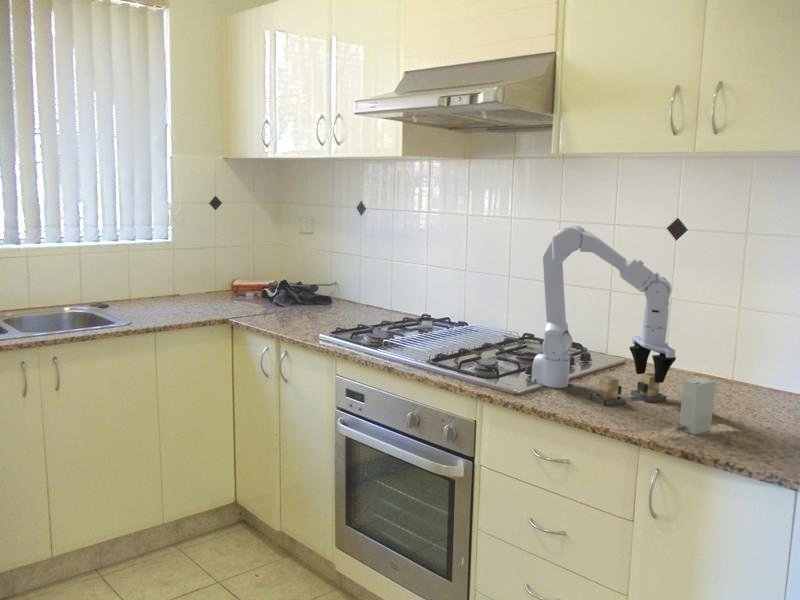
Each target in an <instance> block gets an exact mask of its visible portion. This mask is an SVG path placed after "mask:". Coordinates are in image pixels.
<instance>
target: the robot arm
mask: <svg viewBox="0 0 800 600" xmlns="http://www.w3.org/2000/svg"><path fill="white" fill-rule="evenodd" d="M578 250H579V253H581V252H582V253H593V254H594V255H596V256H598V257H599V258H600V259H601V260H603V261H605V262H607V263H608V264H609V265H611V266H612V267H614V268H615V269H617V270H618V271H619V277H620V278H621V279H622V280H623V281H625V282H626V283H628V284H629V285H630V286H632V287H633V288H635V289H636V290H637V291H639V292H640V293H643V294H644V296H645V298H646V299H645V300H646V301H645V306H644V312H643V313H644V314H643V321H642V330H641V331H642V332H641V336H640V335H639V336H638V335H637V336H632V339H631V344H632V345H633V346H629V351H630V353H631V356H632V359H633V362H634V367H635V374H637V375H642V374H646V370H647V364H648V360H649V356H650V355H651V352H652V351H653V352H654V353H657V354H653V355H651V357H652V361H653V365H654V374H655V382H656V383H660V384H662V383H664V381H665V378H666V377H667V374H668V372H669V370H670V368H671V366H672V365H673V364H674V362H675V361H676V359H677V357H676V349H674V348H672V347H671V346H670V345H669V343H668V342H666V340H667V331H668V329H667V328H668V321H669V306H670V301H669V300H670V296H671V293H672V284H671V283H670V281H668V280H667V278H666V277H664V276H661V275H660V273H659V272H656V273H655V272H654V271H652V270H651V269H650V268H648V267H646V266H645V265H644V264H645V262H644V261H642V259H639V260H637V259H635V258H632V259H627V258H625V257H624V256H623V255H621V254H620V253H619V252H617V251H616V250H615V249H614V248H612V247H611V246H610V245H608V243H606V242H604V240H602V239H600V237H598V236H596V235H595V234H594V233H592V232H590V231H588V230H585V229H584V228H583V227H582V226H580V225H570V226H568V227H563V228H561V229H560V230H559V231H558V232H557V233H556V234H554V235H553V236H552V239H551V241H550V242H549V244H548V246H547V248H546V250H545V252H544V254H543V256H542V264H543V283H544V296H545V298H544V299H545V315H546V323H545V329H544V339H543V342H541V343H542V344H541V349H542V353H538V354H536V355H535V356H534V359H533V360H532V361H533V362H532V366H531V367H532V368H531V381H530V382H532V383H535V384H539V385H542V386H544V387H548V388H555V389H563V388H567V387H568V386H569V380H570V379H569V378H570V364H571V362H570V361H571V355H570V353H569V350H571V348H572V345H573V337H572V335H571V334H570V331H569V325H568V322H567V319H566V317H567V316H566V301H565V286H564V285H565V284H564V282H565V281H564V266H563V263H564V261H565V260H566V259H567V258H569V256H571V255H572V253H574V252H576V251H578Z"/></svg>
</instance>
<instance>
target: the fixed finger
mask: <svg viewBox="0 0 800 600" xmlns="http://www.w3.org/2000/svg"><path fill="white" fill-rule="evenodd" d="M619 382H620V380H619V379H618V378H616V377H615V376H612V375H606V376H600V377H599V389H598V390H599V392H598V393H599V397H600V398H602V399H604V400H616V399H617V396H619V395H622V388H623V387H622V386H621V385H619Z"/></svg>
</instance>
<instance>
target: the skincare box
mask: <svg viewBox="0 0 800 600" xmlns="http://www.w3.org/2000/svg"><path fill="white" fill-rule="evenodd" d="M716 385H717V382H716V381H715V380H713V379H710V378H709V379H708V378H705V377H701V376H700V377H695V378H689V379H684V381H683V387H682V396H681V406H680V411H679V412H680V415H679V420H678V421H679V422H678V423H679V424H680V425H682V426H678V429H679V430H680V431H682V430H683V431H682V432H684V431H686V432H685V433H687V432H688V433H687V434H689V433H690V435H697V434H702V433H707V432H710V431H711V427H712V419H713V410H714V401H715V393H716Z"/></svg>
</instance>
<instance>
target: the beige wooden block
mask: <svg viewBox="0 0 800 600" xmlns="http://www.w3.org/2000/svg"><path fill="white" fill-rule="evenodd" d="M660 384H661V383H656V382H655V373H652V372H647V373H646V372H645V373H644V374H641V376H640V381H637V387H636V390H639V391H640V394H641V395H643V396H645V397H652V396H658V395H659V393H660Z"/></svg>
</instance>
